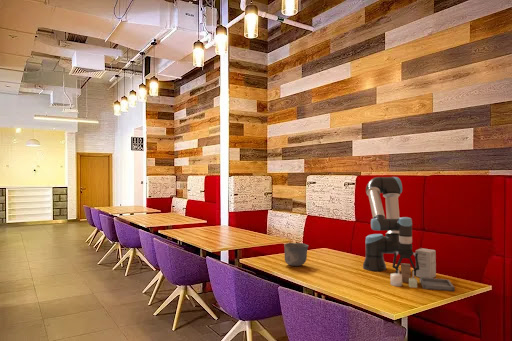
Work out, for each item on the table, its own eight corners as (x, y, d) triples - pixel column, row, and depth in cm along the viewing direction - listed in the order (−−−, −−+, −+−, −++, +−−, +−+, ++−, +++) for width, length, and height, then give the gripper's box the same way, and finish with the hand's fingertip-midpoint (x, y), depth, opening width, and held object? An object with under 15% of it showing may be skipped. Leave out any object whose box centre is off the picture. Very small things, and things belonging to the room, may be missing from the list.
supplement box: (421, 273, 243) (421, 247, 243) (436, 276, 236) (436, 249, 236) (415, 276, 236) (415, 250, 236) (430, 279, 229) (430, 252, 230)
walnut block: (401, 279, 230) (400, 263, 230) (409, 280, 228) (409, 263, 228) (401, 281, 225) (401, 265, 225) (410, 282, 223) (410, 265, 223)
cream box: (408, 284, 219) (408, 277, 220) (416, 285, 218) (415, 278, 218) (409, 287, 214) (409, 280, 214) (417, 288, 213) (417, 281, 213)
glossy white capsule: (390, 282, 223) (390, 272, 223) (401, 283, 221) (401, 273, 221) (390, 285, 217) (390, 275, 217) (402, 286, 215) (402, 276, 215)
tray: (419, 281, 226) (419, 277, 226) (448, 283, 221) (448, 279, 221) (423, 288, 211) (423, 284, 211) (454, 291, 206) (454, 287, 206)
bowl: (312, 264, 268) (312, 243, 269) (303, 270, 253) (303, 248, 253) (289, 262, 277) (289, 241, 277) (280, 267, 261) (279, 245, 261)
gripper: (387, 243, 226) (388, 280, 226) (424, 244, 220) (425, 283, 220) (387, 241, 233) (387, 277, 233) (423, 242, 227) (423, 280, 227)
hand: (405, 280), depth 226 cm, fingers open, 8 cm apart
